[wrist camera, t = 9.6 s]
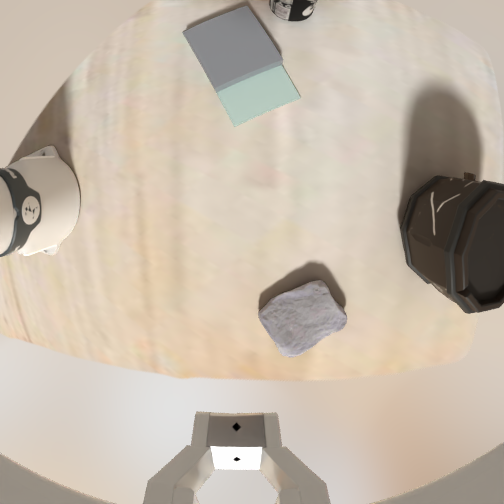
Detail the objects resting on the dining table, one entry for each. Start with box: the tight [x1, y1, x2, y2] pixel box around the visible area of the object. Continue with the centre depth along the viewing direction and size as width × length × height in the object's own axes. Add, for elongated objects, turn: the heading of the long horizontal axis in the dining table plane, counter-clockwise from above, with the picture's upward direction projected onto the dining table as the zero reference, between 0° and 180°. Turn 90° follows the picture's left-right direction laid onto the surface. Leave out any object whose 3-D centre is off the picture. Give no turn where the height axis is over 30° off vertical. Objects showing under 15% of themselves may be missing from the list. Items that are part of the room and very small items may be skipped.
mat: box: [182, 32, 300, 127], centre depth 33 cm, size 10×18×1 cm, turn 26°
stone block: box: [258, 280, 347, 357], centre depth 42 cm, size 12×5×10 cm
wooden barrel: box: [401, 173, 504, 314], centre depth 31 cm, size 18×18×16 cm
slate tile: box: [183, 6, 283, 93], centre depth 31 cm, size 2×10×11 cm
